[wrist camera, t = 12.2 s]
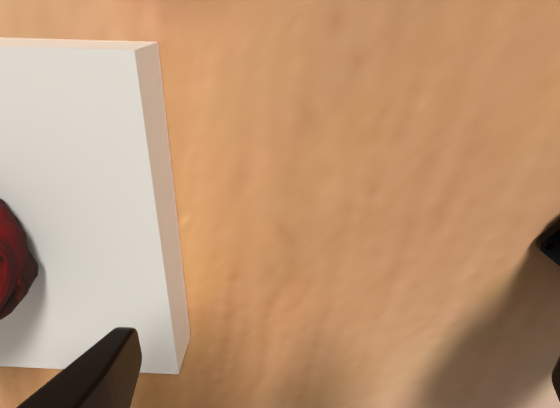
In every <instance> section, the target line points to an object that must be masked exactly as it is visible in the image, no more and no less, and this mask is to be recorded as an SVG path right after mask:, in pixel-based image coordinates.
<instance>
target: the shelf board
mask: <svg viewBox="0 0 560 408" xmlns="http://www.w3.org/2000/svg"><path fill="white" fill-rule="evenodd" d="M0 199H2V200H3V201H5V204H6V206H7V207H8V208H9V210H10V211H11V212H12V213H13V215H14V216H15V217H16V218H17V219H18V221H19V223H20V225H21V227H22V229H23V231H24V232H25V234H26V237H27V244H28V247H29V251H30V252H31V254H32V256H33V257H34V258H35V260H36V261H37V263H38V266H39V268H38V276H37V277H36V279H35V280H34V282H33V284H32V285H31V287H30V289H29V291H28V294H27V295H26V296H25V297H24V298H23V300H22V301H21V302H20V303H19V304H18V306H17V307H16V308H15V309H14V310H13V312H12V313H10V314H9V315H8V316H6V317H5V318H3V319H1V320H0V366H8V367H30V368H51V369H65V368H66V367H67V366H68V365H70V364H71V363H72V362H73V361H75V360H76V359H77V358H78V357H80V356H81V355H82V354H83V353H84V352H86V351H87V350H88V349H89V348H91V347H92V346H93V345H94V344H96V343H97V342H98V341H99V340H101V339H102V338H103V337H104V336H105V335H107V334H108V333H109V332H110V331H112V330H113V329H114V328H116V327H133V328H135V329H136V330H137V332H138V337H139V342H140V347H141V352H142V364H141V368H140V372H139V373H160V374H179V372H180V368H181V365H182V362H183V359H184V355H185V352H186V349H187V346H188V343H189V339H190V327H189V318H188V309H187V300H186V291H185V281H184V272H183V263H182V254H181V245H180V236H179V227H178V218H177V209H176V200H175V190H174V181H173V172H172V163H171V154H170V145H169V136H168V127H167V118H166V108H165V99H164V90H163V81H162V72H161V63H160V54H159V45H158V42H144V41H108V40H73V39H37V38H1V37H0Z"/></svg>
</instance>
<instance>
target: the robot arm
mask: <svg viewBox="0 0 560 408" xmlns="http://www.w3.org/2000/svg"><path fill="white" fill-rule="evenodd" d="M549 242H550V244H548V245H546V244H547V243H549ZM536 245H537V247H538V248H539V249H540V250H541V251H542V252H543V253H544V254H545V255H547V256H548V257H549V258H550V259H552V260H553V261H554V262H556V263H557V264H558V265H559V266H560V221H559V222H558V223H557V224H556V225H554V226H553V227H552V228H551V229H549V230H548V231H547V232H546V233H544V234H543V235H542V236H541V237H540V238H539V239H538V240H537V242H536ZM545 245H546V246H545ZM141 364H142V352H141V347H140V342H139V337H138V332H137V330H136V329H135V328H133V327H116V328H114V329H113V330H112V331H110V332H109V333H108V334H107V335H105V336H104V337H103V338H102V339H101V340H99V341H98V342H97V343H96V344H94V345H93V346H92V347H91V348H89V349H88V350H87V351H86V352H84V353H83V354H82V355H81V356H80V357H78V358H77V359H76V360H75V361H73V362H72V363H71V364H70V365H68V366H67V367H66V368H65V369H63V370H62V371H61V372H60V373H59V374H57V375H56V376H55V377H54V378H52V379H51V380H50V381H49V382H47V383H46V384H45V385H44V386H43V387H41V388H40V389H39V390H38V391H36V392H35V393H34V394H33V395H31V396H30V397H29V398H28V399H26V400H25V401H24V402H23V403H22V404H20V405H19V406H18V407H17V408H130V405H131V401H132V398H133V394H134V390H135V387H136V383H137V379H138V376H139V372H140V368H141ZM552 383H553V386H554V389H555V391H556V394H557V396H558V399H559V401H560V357H559V359H558V361H557V363H556V365H555V367H554V369H553V371H552Z"/></svg>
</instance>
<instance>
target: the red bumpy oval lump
mask: <svg viewBox="0 0 560 408" xmlns="http://www.w3.org/2000/svg"><path fill="white" fill-rule="evenodd" d="M38 268H39V266H38V263H37V261H36V260H35V258H34V257H33V256H32V254H31V252H30V251H29V247H28V244H27V237H26V234H25V232H24V231H23V229H22V227H21V225H20V223H19V221H18V219H17V218H16V217H15V216H14V215H13V213H12V212H11V211H10V210H9V208H8V207H7V206H6V204H5V201H3V200H2V199H0V320H1V319H3V318H5V317H6V316H8V315H9V314H10V313H12V312H13V310H14V309H15V308H16V307H17V306H18V304H19V303H20V302H21V301H22V300H23V298H24V297H25V296H26V295H27V294H28V291H29V289H30V287H31V285H32V284H33V282H34V280H35V279H36V277H37V276H38Z"/></svg>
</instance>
